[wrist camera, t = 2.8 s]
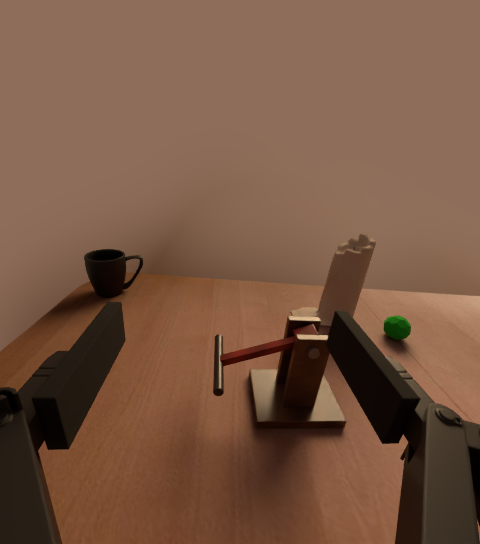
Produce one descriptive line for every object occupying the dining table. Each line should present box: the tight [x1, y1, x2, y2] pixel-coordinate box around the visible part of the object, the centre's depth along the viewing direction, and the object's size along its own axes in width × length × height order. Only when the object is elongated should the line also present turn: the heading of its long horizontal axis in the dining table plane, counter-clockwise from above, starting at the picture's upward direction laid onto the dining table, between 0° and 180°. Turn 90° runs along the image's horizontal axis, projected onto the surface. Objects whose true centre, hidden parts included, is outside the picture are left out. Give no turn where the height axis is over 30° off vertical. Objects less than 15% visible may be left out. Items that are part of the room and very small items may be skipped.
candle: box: [290, 233, 375, 326], centre depth 56 cm, size 7×14×20 cm, turn 91°
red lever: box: [213, 324, 319, 396], centre depth 34 cm, size 14×10×2 cm
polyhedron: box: [384, 316, 411, 340], centre depth 54 cm, size 5×5×5 cm
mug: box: [84, 249, 143, 298], centre depth 60 cm, size 8×12×10 cm
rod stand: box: [249, 316, 346, 428], centre depth 35 cm, size 12×9×13 cm
